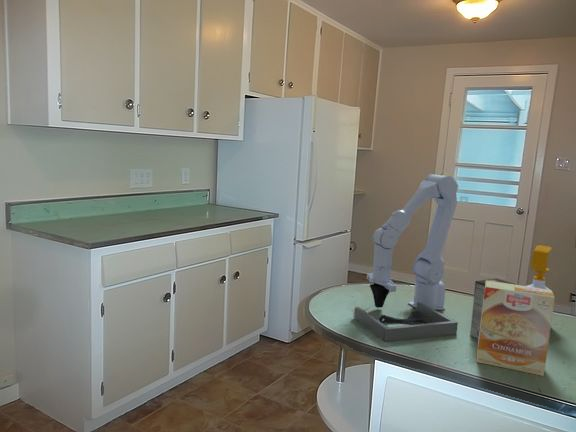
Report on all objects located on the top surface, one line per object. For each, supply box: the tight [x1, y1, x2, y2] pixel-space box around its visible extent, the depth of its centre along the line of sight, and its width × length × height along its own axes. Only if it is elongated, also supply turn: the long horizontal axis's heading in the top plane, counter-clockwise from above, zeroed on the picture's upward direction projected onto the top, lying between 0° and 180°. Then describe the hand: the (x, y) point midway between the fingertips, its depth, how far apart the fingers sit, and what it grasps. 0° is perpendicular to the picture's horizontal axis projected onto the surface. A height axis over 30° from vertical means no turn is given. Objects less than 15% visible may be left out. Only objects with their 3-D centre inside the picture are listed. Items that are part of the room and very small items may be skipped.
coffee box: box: [469, 278, 517, 339], centre depth 129 cm, size 9×6×16 cm
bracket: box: [378, 310, 430, 325], centre depth 138 cm, size 14×15×3 cm
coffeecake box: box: [476, 279, 556, 377], centre depth 112 cm, size 15×7×20 cm, turn 66°
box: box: [353, 302, 459, 343], centre depth 135 cm, size 23×18×4 cm
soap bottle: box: [526, 244, 555, 296], centre depth 140 cm, size 9×9×25 cm
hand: (378, 306), depth 148 cm, fingers closed
